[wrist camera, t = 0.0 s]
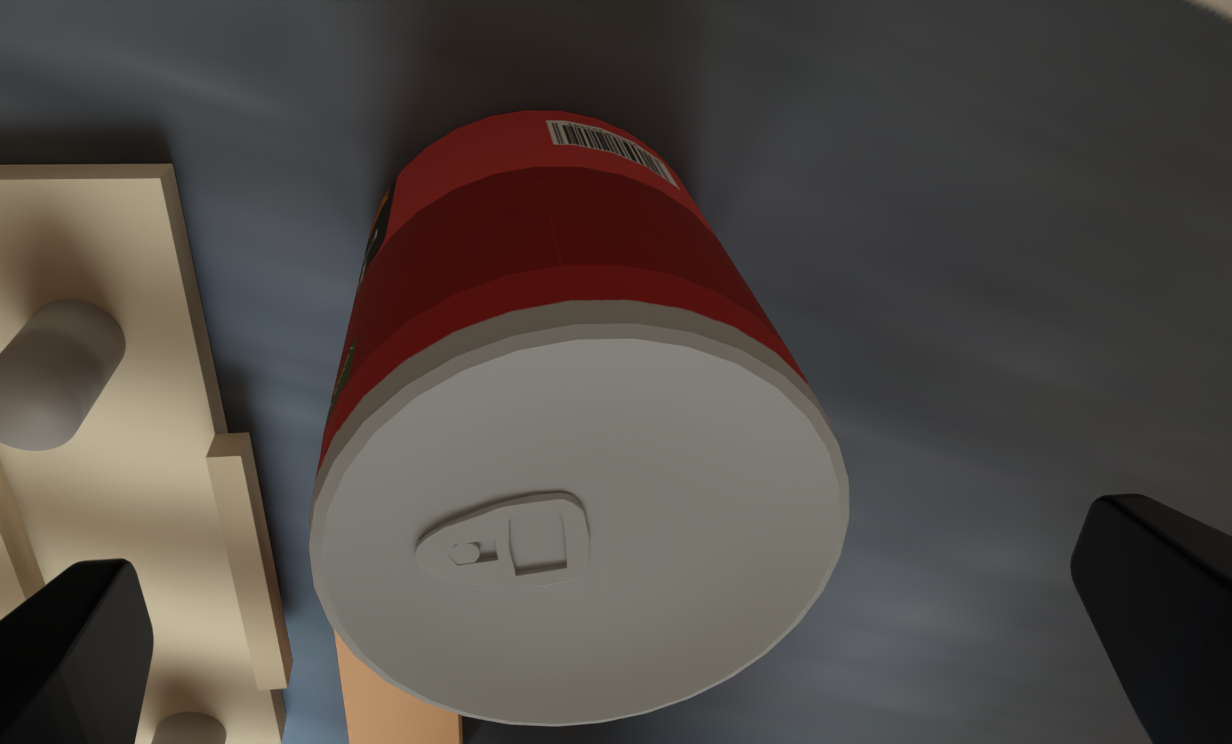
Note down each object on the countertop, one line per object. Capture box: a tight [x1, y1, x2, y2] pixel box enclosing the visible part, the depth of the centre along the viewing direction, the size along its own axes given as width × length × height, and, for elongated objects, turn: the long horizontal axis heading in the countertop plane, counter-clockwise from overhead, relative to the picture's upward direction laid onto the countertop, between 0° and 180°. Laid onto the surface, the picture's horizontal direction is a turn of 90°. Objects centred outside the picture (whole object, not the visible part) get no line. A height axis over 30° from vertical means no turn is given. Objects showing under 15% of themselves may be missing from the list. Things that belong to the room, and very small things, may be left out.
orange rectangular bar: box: [334, 630, 463, 744], centre depth 28 cm, size 10×3×4 cm, turn 177°
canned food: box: [309, 110, 849, 726], centre depth 18 cm, size 8×8×11 cm
